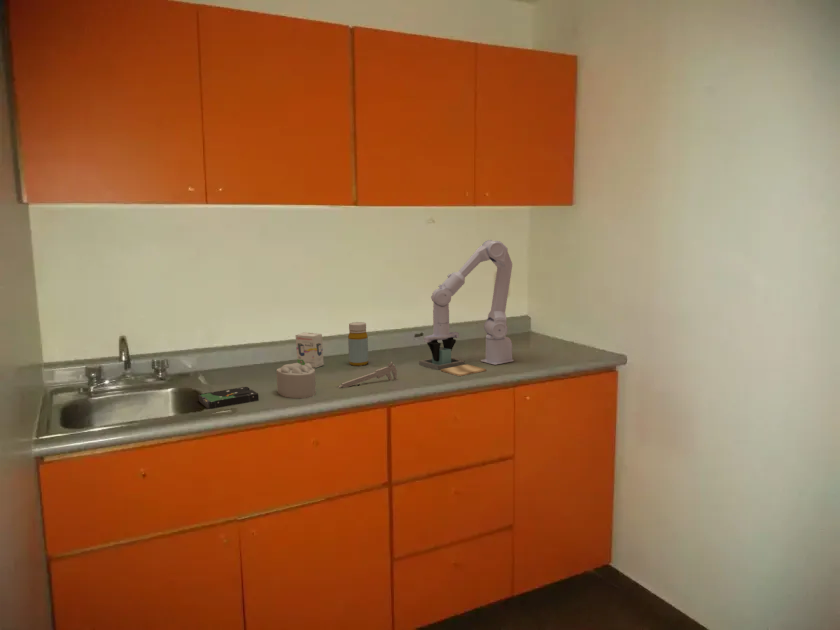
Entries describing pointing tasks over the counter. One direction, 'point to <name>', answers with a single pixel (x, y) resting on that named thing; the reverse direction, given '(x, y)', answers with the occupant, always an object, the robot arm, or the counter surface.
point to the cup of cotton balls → (296, 380)
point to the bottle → (358, 344)
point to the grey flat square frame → (438, 367)
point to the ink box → (309, 349)
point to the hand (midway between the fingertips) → (441, 359)
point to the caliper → (373, 375)
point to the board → (463, 370)
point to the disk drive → (228, 397)
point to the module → (443, 356)
